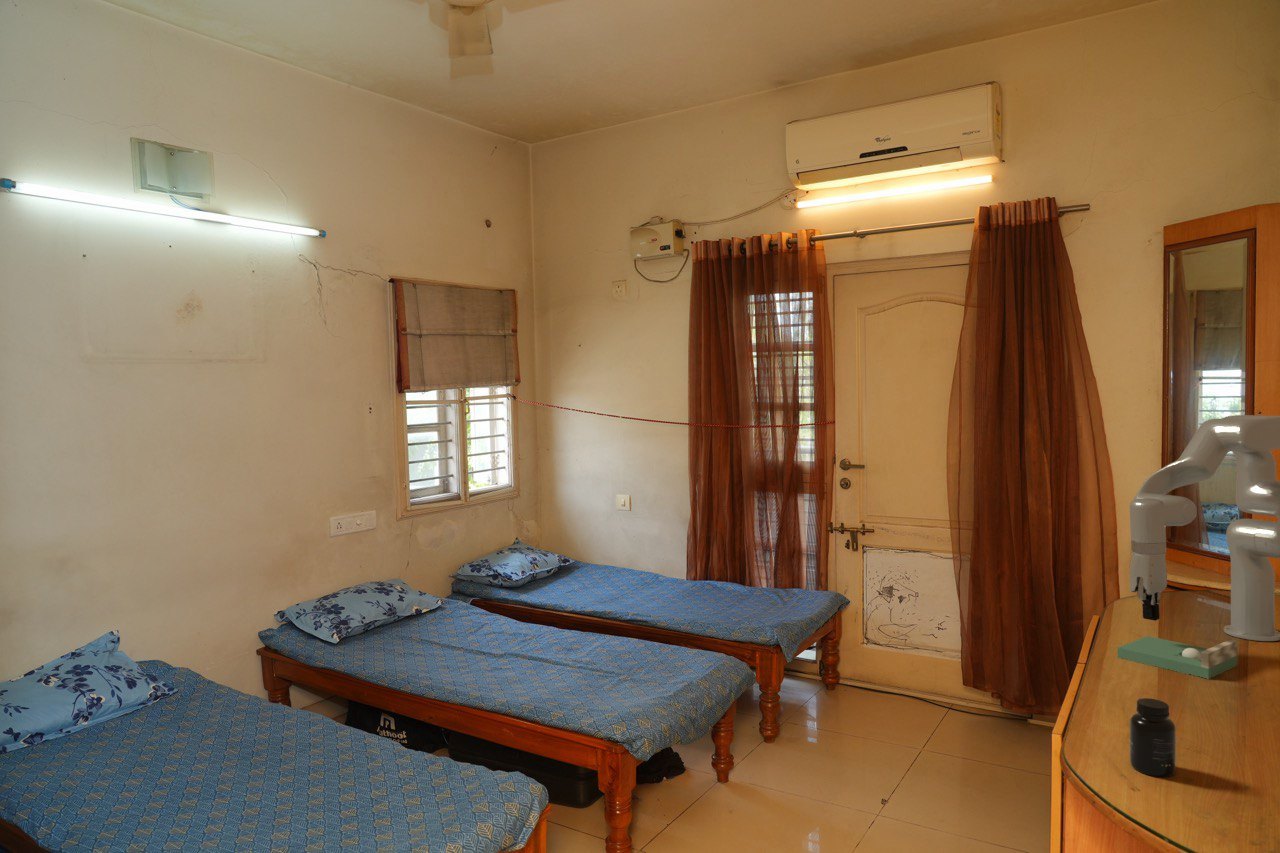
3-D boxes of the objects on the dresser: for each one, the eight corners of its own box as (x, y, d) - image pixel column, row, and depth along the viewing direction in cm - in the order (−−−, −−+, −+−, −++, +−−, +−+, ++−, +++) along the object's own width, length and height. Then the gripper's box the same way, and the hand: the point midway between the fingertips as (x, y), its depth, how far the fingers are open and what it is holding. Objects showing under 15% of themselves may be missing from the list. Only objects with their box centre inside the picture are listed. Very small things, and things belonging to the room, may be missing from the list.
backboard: (1230, 653, 196) (1230, 639, 196) (1237, 655, 195) (1237, 640, 195) (1201, 666, 187) (1201, 652, 187) (1208, 668, 186) (1208, 653, 186)
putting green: (1148, 645, 211) (1148, 635, 211) (1237, 665, 195) (1237, 655, 195) (1117, 657, 202) (1117, 647, 202) (1208, 679, 186) (1208, 668, 186)
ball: (1203, 664, 196) (1184, 659, 199) (1205, 649, 195) (1186, 643, 198) (1197, 669, 194) (1178, 663, 197) (1198, 653, 193) (1180, 647, 196)
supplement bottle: (1121, 761, 146) (1121, 696, 145) (1156, 759, 146) (1156, 694, 146) (1148, 779, 139) (1148, 711, 138) (1185, 777, 139) (1185, 709, 139)
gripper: (1146, 541, 210) (1149, 609, 211) (1118, 550, 202) (1121, 622, 203) (1178, 544, 204) (1181, 615, 205) (1150, 554, 196) (1153, 628, 197)
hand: (1151, 618), depth 204 cm, fingers closed
